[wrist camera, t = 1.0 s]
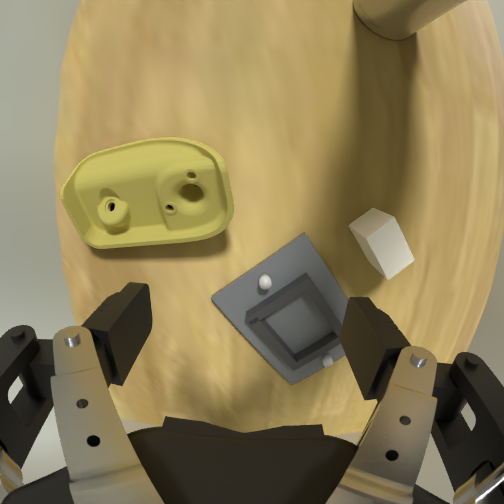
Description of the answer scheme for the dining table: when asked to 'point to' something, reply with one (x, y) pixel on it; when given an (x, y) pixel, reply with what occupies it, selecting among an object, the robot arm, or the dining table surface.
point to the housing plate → (289, 310)
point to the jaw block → (382, 242)
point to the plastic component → (149, 194)
